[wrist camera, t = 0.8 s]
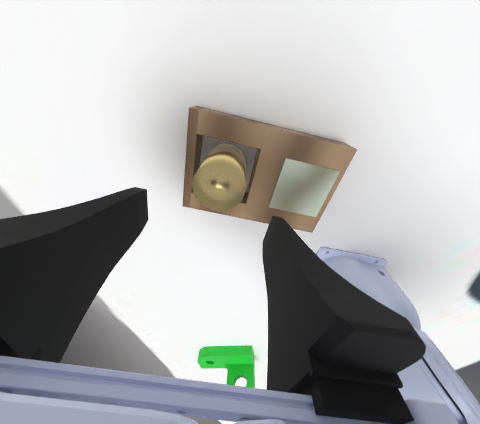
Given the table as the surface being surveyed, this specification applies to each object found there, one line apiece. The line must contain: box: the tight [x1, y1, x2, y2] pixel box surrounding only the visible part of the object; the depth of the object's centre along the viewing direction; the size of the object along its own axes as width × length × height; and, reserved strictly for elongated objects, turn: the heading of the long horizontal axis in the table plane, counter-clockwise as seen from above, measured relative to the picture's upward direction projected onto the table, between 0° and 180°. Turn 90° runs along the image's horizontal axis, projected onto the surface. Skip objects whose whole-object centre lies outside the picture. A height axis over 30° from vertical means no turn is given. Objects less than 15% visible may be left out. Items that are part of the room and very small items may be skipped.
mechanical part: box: [198, 346, 255, 388], centre depth 39 cm, size 12×6×8 cm, turn 98°
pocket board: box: [183, 106, 357, 233], centre depth 18 cm, size 14×9×3 cm, turn 78°
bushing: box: [192, 144, 246, 211], centre depth 17 cm, size 4×4×6 cm
